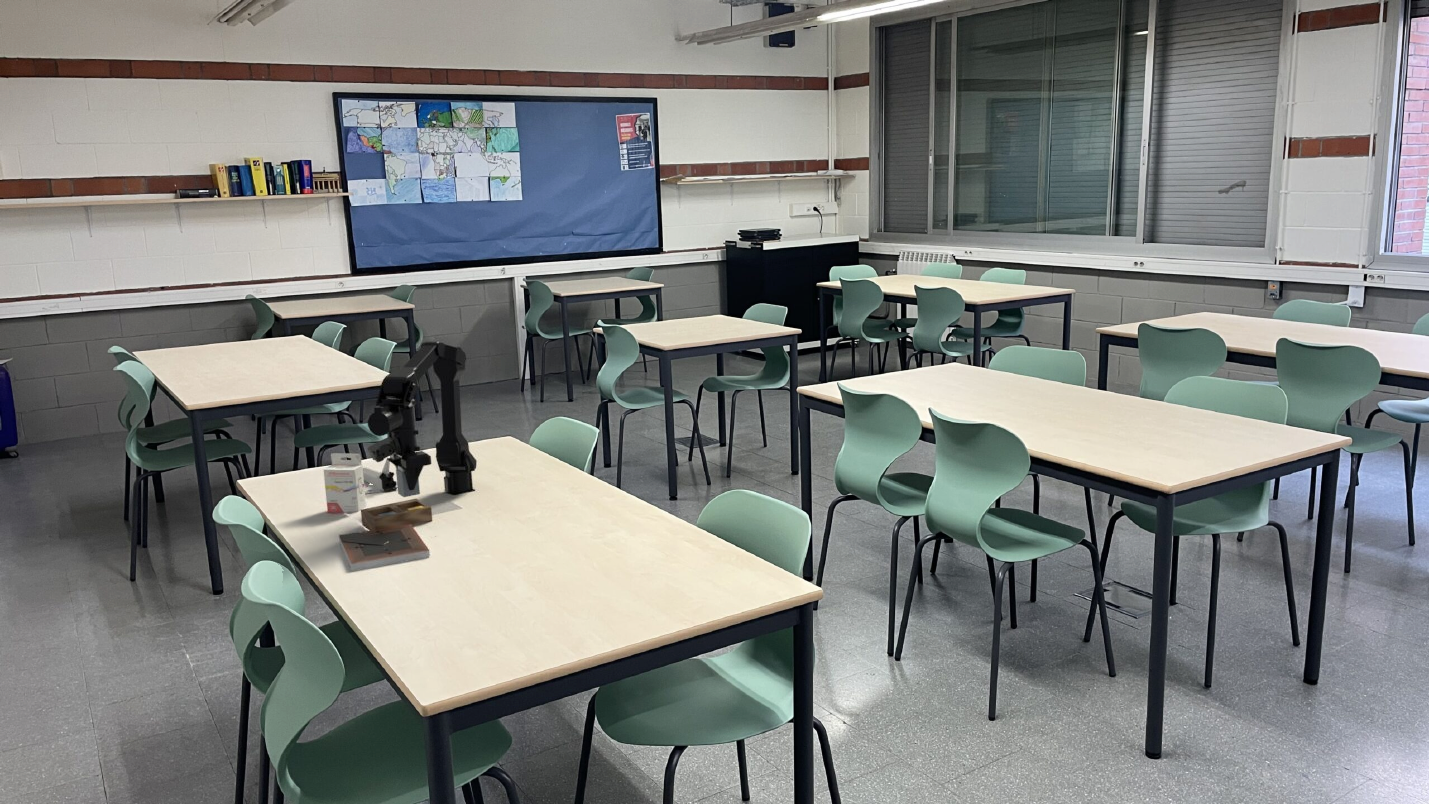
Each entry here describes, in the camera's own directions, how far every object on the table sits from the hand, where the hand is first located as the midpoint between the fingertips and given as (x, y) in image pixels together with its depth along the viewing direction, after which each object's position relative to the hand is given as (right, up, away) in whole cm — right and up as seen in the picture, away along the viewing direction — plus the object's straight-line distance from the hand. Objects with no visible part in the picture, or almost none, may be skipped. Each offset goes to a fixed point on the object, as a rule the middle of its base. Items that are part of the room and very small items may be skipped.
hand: (408, 488), depth 251 cm
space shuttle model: (-20, -2, +38) cm, 43 cm away
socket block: (-3, -9, 0) cm, 9 cm away
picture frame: (0, -13, -18) cm, 23 cm away
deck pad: (+5, -6, +10) cm, 13 cm away
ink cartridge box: (-19, -7, +12) cm, 24 cm away
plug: (0, -1, 0) cm, 2 cm away
